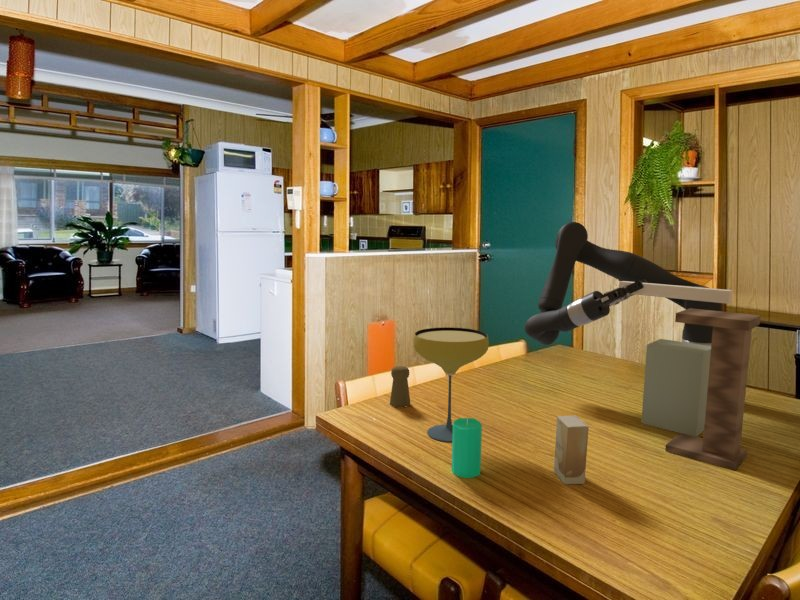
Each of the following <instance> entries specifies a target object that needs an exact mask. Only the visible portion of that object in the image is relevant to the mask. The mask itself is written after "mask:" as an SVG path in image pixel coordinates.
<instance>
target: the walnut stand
mask: <svg viewBox="0 0 800 600" xmlns="http://www.w3.org/2000/svg"><path fill="white" fill-rule="evenodd" d="M674 321H675V323H681V324H685V323H688V324H696V325H705V326H713V332H712V344H711V355H710V367H709V378H708V390H707V401H706V413H705V424H704V430H703V436H702V437H699V436H697V437H695V436H691V435H687V434H683V433H677V435H675V436H674V437H673V438H672V439H671V440H669V441H668V442H666V444H665V452H667V453H670V454H674V455H675V454H676V455H678V456H682V457H686V458H688V459H689V458H690V459H693V460H698V461H700V462H703V463H708V464H711V465H714V466H715V465H716V466H718V467H722V468H726V469H730V470H733V471H736V470H737V469H738V468H739V467H740V466H741V464H742V463H743V461H744V460H745V459H746V458H747V457H748V449H745V448H742V447H741V444H742V435H743V425H744V415H745V403H746V393H747V381H748V371H749V362H750V361H749V360H750V353H751V352H750V351H751V341H752V330H753V329H755V328H756V327H758V326H759V325H760V324H761V315H760V314H750V313H741V312H740V313H739V312H731V311H730V312H729V311H723V310H722V311H712V310H702V309H692V308H689V309H684V310H681V311H678V312H675V319H674Z"/></svg>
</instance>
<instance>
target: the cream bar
mask: <svg viewBox="0 0 800 600" xmlns="http://www.w3.org/2000/svg"><path fill="white" fill-rule="evenodd" d="M632 283H634V282H630V281H619V282H618V288H622V287H623V286H626V287H627V286H628V285H630V284H632ZM642 284H643V286H644V287H643V288H642V289H640V290H638V291H636V292H633V293H631V294H635V295H637V296H645V297H646V296H647V297H656V298H657V297H658V298H665V297H666V298H665V299H667V298H676V299H686V300H696V301H706V302H716V303H722V304H727V305H729V304H731V303H732V302H733V291H734V290H733V289H727V288H726V289H724V288H722V289H721V288H713V287H709V288H702V287H690V286H678V285H666V284H654V283H642ZM635 295H634V296H635Z"/></svg>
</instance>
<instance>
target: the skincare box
mask: <svg viewBox="0 0 800 600" xmlns="http://www.w3.org/2000/svg"><path fill="white" fill-rule="evenodd" d="M555 430H556V431H555V447H554V448H555V450H554V461H553V471H554V474H556V475H557V477H558V478H559V480H560V481H561V482H562V483H563V484H564V485H584V484H585V483H586V469H587V453H588V440H589V425H587V424H586V423H585V422H584V421H583V420H582V419H581V418H579V417H578V415H557V416H556V429H555Z"/></svg>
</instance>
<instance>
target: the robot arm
mask: <svg viewBox="0 0 800 600" xmlns="http://www.w3.org/2000/svg"><path fill="white" fill-rule="evenodd" d="M588 236H589V235H588V231H587V228H586V226H584V225H583V224H581V223H580V222H576V221H570V222H567V223H565V224H564V225H562V226H561V228H560V229H559V230H558V232H557V235H556V239H555V242H554V245H555V249H556V251H555V255H554V259H553V262H552V266H551V268H550V271H549V273H548V276H547V278H546V280H545V283H544V286H543V288H542V292H541V295H540V296H539V297H540V298H539V300H538V303H537V307H538V309H539V311H540V312H539V313H537V314H534V315H532V316H531V317H529V318H528V319H527V320H526V322H525V325H524V331H525V334H526V335H527V336H529V337H530V338H531V339H533V340H535V341H537V342H539V343H540V344H542V345H543V346H550V345H553V343H555V342H556V340H557V339H558V337H559V336H560V332H563V333H565V332H566V333H567V332H569V331H573V330H575V329H577V328H579V327H583V326H584V325H585V326H586V325H588V324H590V323H593V322H596V321H597V320H600V319H602V318H604V317H607V316H608V315H609V314H610V312H611V309H610V307H613V306H616V305H619V304H620V303H621V302H623V301H626V300H628V299H629V298H631V297H633V296H635V294H631V293H633V292H636V291H638V290H640V289H642V288H643V287H644V286H643V284H642V283H654V284H666V285H678V286H690V287H702V288H710V287H708V286H706V285H705V286H704V285H701V284H698V283H695V282H693V281H689V280H687V279H684V278H681V277H680V276H677V275H675V274H673V273H671V272H670V271H668V270H666V269H665V268H663V267H662V266H660V265H659V264H657V263H655V262H653V261H651V260H648V259H647V258H644V257H642V256H640V255H639V254H638V255H637V254H635V253H634V252H630V251H625V250H618V249H610V248H605V247H602V246H600V245H597V244H595V243H593V242H591V241H590V240H588V239H589V237H588ZM576 262H578V263H581V264H583V265H587V266H589V267H591V268H593V269H595V270H598V271H600V272H602V273H604V274H606V275H607V276H609V277H612V278H614V279H616V280H618V281H619V282H621V281H630V282H634V283H632V284H630V285H628V286H627V287H626V286H623V287H622V288H619V287H617V288H614V289H612V290H609V291H606V292H604V293H602V292H601V291H599V290H594V291H592V292H590V293H588V294H585V295H584V296H581V297H579V298H578V299H576V300H574V301H572V302H570V303H568V304H567V305H565V306H563V304H564V301H565V298H566V296H567V291H568V288H569V285H570V279H571V276H572V273H573V270H574V267H575V264H576ZM664 298H665V299H668V300H669V301H671V302H672V303H675V304H676V305H677V306H680V307H682V308H683V309H684V310H686V309H689V308H692V309H702V310H712V311H722V312H723V303H716V302H706V301H696V300H686V299H676V298H666V297H664ZM683 324H684V326H683V329H682V334H681V342H686V343H693V344H700V345H707V346H711V344H712V332H713V326H705V325H696V324H688V323H683Z"/></svg>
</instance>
